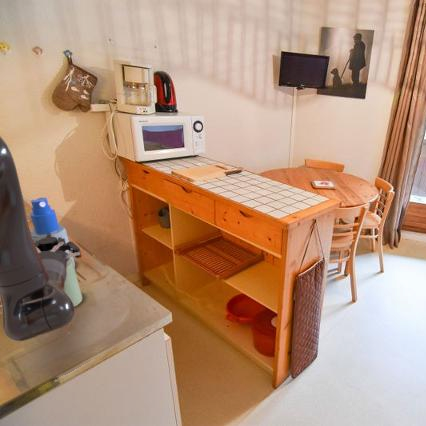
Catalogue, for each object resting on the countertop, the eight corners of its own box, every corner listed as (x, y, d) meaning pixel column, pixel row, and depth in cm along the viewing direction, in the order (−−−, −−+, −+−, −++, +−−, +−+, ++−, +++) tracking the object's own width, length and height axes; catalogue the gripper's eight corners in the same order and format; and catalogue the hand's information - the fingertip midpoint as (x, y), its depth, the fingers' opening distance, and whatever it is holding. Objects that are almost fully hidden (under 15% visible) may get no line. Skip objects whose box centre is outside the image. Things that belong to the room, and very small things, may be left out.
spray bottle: (80, 267, 108) (62, 199, 98) (48, 279, 100) (26, 207, 91) (67, 259, 112) (49, 192, 102) (36, 270, 105) (13, 199, 95)
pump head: (60, 255, 85) (56, 241, 83) (41, 259, 83) (36, 245, 81) (61, 244, 90) (57, 230, 89) (43, 247, 88) (39, 233, 87)
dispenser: (82, 305, 91) (70, 261, 85) (46, 315, 87) (31, 269, 81) (82, 290, 97) (71, 248, 91) (48, 299, 92) (34, 254, 87)
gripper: (80, 252, 77) (78, 224, 89) (-1, 268, 69) (10, 235, 81) (86, 278, 80) (84, 248, 92) (9, 296, 72) (18, 260, 84)
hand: (49, 242), depth 87 cm, fingers closed on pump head, 4 cm apart
